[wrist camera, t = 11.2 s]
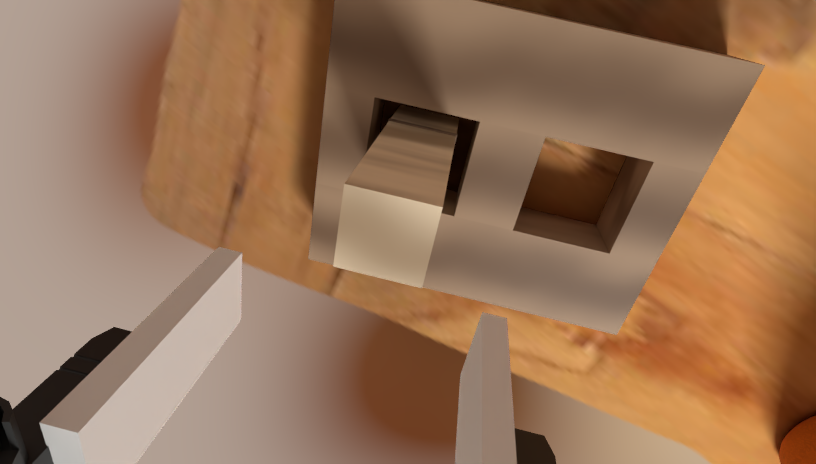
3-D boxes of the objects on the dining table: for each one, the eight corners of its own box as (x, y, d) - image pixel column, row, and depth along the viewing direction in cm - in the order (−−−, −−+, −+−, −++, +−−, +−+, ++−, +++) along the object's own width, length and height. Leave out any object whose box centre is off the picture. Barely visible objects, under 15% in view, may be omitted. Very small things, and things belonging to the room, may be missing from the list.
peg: (399, 103, 30) (343, 182, 18) (460, 117, 30) (444, 206, 18) (389, 161, 32) (331, 266, 20) (446, 174, 32) (422, 289, 20)
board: (356, -28, 27) (337, -30, 24) (727, 54, 26) (765, 65, 23) (325, 232, 36) (308, 258, 32) (603, 300, 35) (616, 334, 32)
